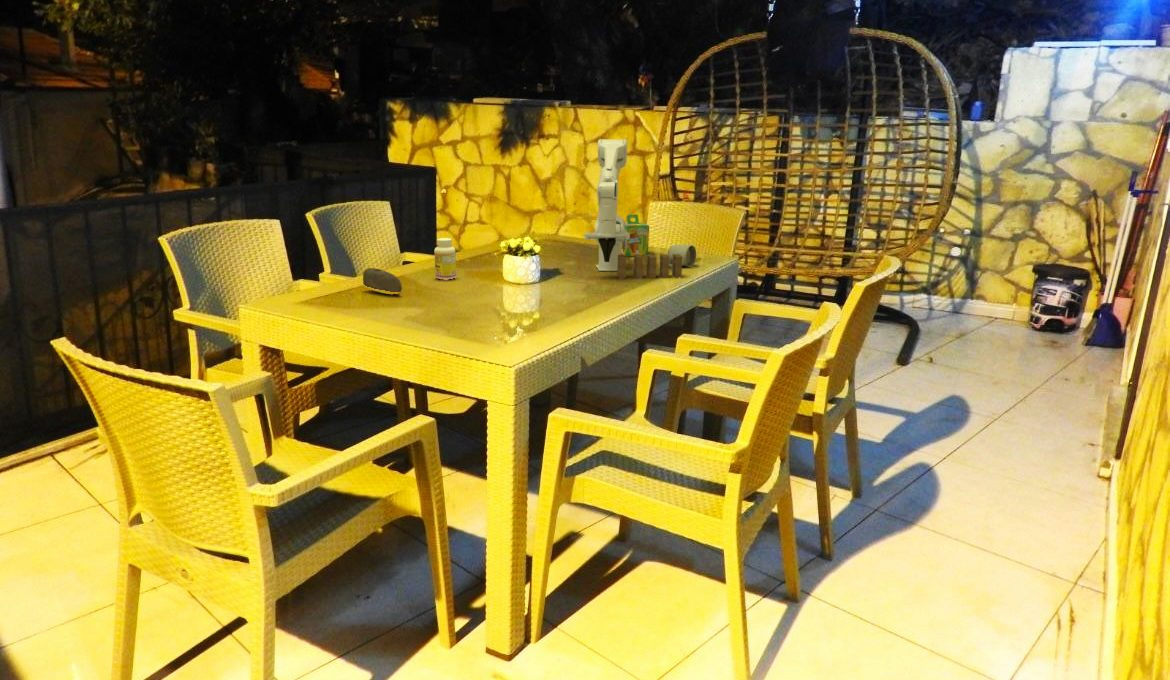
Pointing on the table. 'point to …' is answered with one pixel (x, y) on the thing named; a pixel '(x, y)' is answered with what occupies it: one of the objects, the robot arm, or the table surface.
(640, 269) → the tile
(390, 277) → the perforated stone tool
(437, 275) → the supplement bottle
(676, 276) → the tile
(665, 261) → the tile
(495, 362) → the table surface
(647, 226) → the chalk box
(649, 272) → the tile
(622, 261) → the tile
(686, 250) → the grey hollow cylinder
